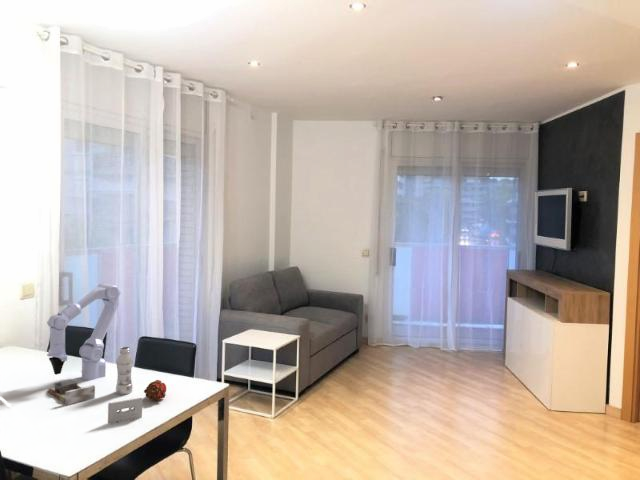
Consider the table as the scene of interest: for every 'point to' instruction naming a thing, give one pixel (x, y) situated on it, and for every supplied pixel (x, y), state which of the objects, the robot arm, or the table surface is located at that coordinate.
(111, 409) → the cassette
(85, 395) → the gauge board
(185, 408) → the table surface
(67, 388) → the grey rectangular block
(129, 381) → the plastic bottle
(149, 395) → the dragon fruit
